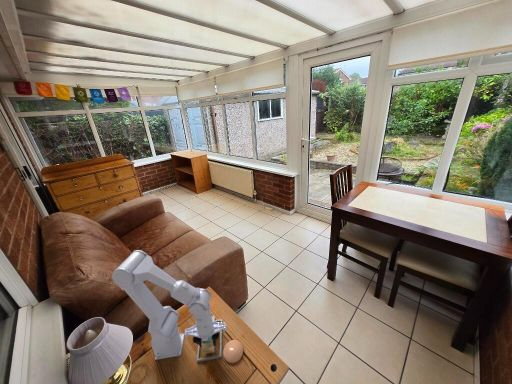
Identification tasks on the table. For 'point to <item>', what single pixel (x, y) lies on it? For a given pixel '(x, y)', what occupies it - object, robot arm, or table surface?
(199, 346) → the open rectangular frame
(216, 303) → the table surface
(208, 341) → the tan and teal block
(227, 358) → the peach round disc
